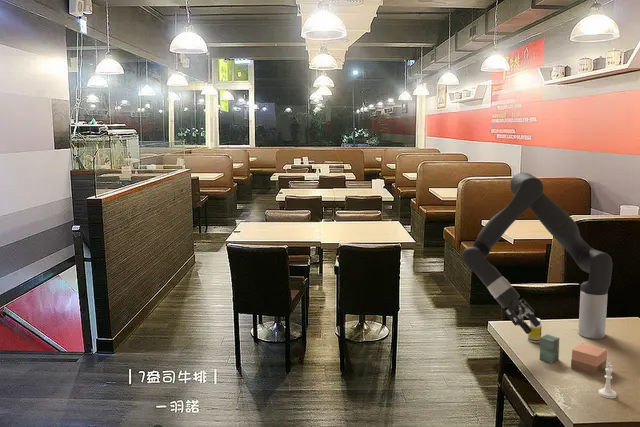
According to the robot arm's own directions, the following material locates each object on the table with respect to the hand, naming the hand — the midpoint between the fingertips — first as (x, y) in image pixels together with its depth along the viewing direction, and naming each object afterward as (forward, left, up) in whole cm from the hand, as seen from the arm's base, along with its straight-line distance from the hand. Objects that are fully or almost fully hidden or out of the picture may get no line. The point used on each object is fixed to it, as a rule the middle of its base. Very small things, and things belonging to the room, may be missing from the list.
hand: (534, 329), depth 191 cm
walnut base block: (-4, +18, -10) cm, 21 cm away
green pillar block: (-1, +5, -10) cm, 11 cm away
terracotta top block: (-4, +18, -7) cm, 19 cm away
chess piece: (+10, +29, -10) cm, 33 cm away
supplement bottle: (-13, -7, -10) cm, 18 cm away
